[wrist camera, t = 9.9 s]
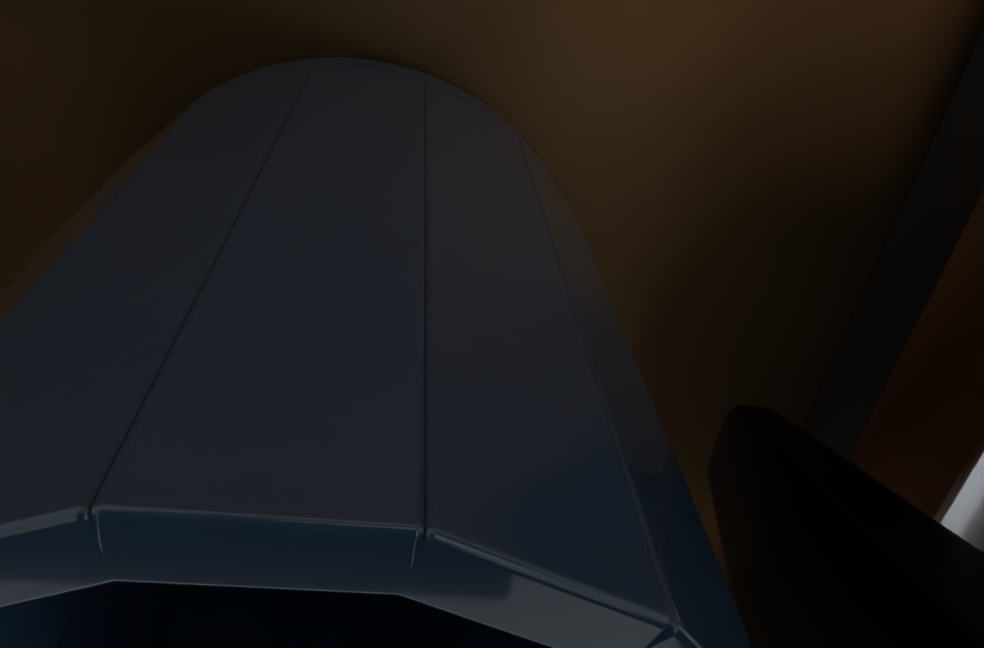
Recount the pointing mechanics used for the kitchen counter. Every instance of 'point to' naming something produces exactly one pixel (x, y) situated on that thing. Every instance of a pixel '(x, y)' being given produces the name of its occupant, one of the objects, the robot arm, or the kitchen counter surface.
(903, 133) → the kitchen counter surface
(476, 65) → the kitchen counter surface
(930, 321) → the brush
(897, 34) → the kitchen counter surface
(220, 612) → the cup
